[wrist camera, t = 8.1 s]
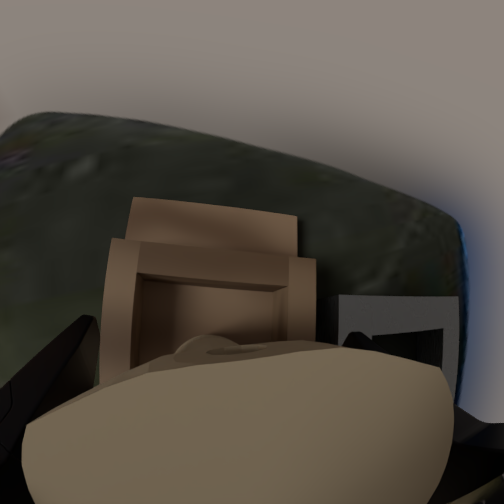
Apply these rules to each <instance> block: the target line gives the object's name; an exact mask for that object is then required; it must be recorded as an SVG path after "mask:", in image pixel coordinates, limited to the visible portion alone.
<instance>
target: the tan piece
mask: <svg viewBox="0 0 504 504" xmlns="http://www.w3.org/2000/svg"><path fill="white" fill-rule="evenodd" d="M315 332H316V259H310V258H300V257H297V216H292V215H285V214H278V213H271V212H264V211H257V210H249V209H242V208H234V207H226V206H218V205H209V204H201V203H191V202H182V201H172V200H162V199H152V198H140V197H133V201H132V206H131V210H130V215H129V220H128V225H127V231H126V236H125V239H117V238H112V241H111V246H110V252H109V258H108V265H107V272H106V280H105V288H104V297H103V307H102V320H101V336H100V384H102V383H104V382H106V381H108V380H110V379H112V378H114V377H116V376H118V375H120V374H122V373H124V372H126V371H129V370H131V369H133V368H136V367H138V366H140V365H143V364H145V363H147V362H150V361H152V360H154V359H156V358H159V357H161V356H164V355H170V354H174V353H175V352H176V351H177V349H178V348H179V347H180V346H181V345H182V344H184V343H185V342H187V341H188V340H190V339H192V338H194V337H197V336H201V335H215V336H221V337H224V338H227V339H229V340H231V341H233V342H235V343H237V344H238V345H248V344H258V343H268V342H278V341H296V340H304V341H312V342H315Z"/></svg>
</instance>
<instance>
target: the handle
mask: <svg viewBox="0 0 504 504" xmlns="http://www.w3.org/2000/svg"><path fill="white" fill-rule="evenodd" d="M453 428H454V410H453V398H452V395H451V392H450V389H449V386H448V383H447V381H446V379H445V377H444V375H443V373H442V371H441V369H440V368H439V367H436V366H432V365H428V364H424V363H420V362H416V361H413V360H409V359H405V358H401V357H397V356H392V355H388V354H384V353H380V352H376V351H369V350H362V349H354V348H348V347H343V346H338V345H332V344H327V343H321V342H312V341H304V340H296V341H278V342H268V343H258V344H248V345H238V344H237V343H235V342H233V341H231V340H229V339H227V338H224V337H221V336H215V335H201V336H197V337H194V338H192V339H190V340H188V341H187V342H185V343H184V344H182V345H181V346H180V347H179V348H178V349H177V351H176V352H175V353H174V354H170V355H164V356H161V357H159V358H156V359H154V360H152V361H150V362H147V363H145V364H143V365H140V366H138V367H136V368H133V369H131V370H129V371H126V372H124V373H122V374H120V375H118V376H116V377H114V378H112V379H110V380H108V381H106V382H104V383H102V384H100V385H98V386H96V387H94V388H92V389H90V390H88V391H86V392H84V393H82V394H80V395H78V396H76V397H75V398H73V399H71V400H69V401H67V402H65V403H63V404H61V405H59V406H57V407H55V408H54V409H52V410H50V411H49V412H47V413H45V414H44V415H42V416H40V417H39V418H37V419H35V420H34V421H32V422H31V423H29V424H27V426H26V430H25V434H24V438H23V443H22V468H23V472H24V476H25V479H26V483H27V486H28V489H29V492H30V494H31V496H32V498H33V500H34V502H35V504H427V503H428V501H429V500H430V498H431V496H432V495H433V493H434V491H435V490H436V488H437V486H438V484H439V482H440V479H441V477H442V475H443V472H444V470H445V467H446V464H447V461H448V457H449V453H450V449H451V444H452V438H453Z"/></svg>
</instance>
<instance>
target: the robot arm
mask: <svg viewBox="0 0 504 504" xmlns="http://www.w3.org/2000/svg"><path fill="white" fill-rule="evenodd" d="M99 345H100V333H99V329H98V325H97V320H96V318H95V317H94V316H90V315H82V316H80V317H79V318H78V319H77V320H76V321H74V322H73V323H72V324H71V325H70V326H69V327H67V328H66V329H65V330H64V331H63V332H62V333H60V334H59V335H58V336H57V337H56V338H55V339H54V340H52V341H51V342H50V343H49V344H48V345H47V346H46V347H45V348H43V349H42V350H41V351H40V352H39V353H38V354H37V355H36V356H35V357H33V358H32V359H31V360H30V361H29V362H28V363H27V364H26V365H25V366H24V367H23V368H22V369H20V370H19V371H18V372H17V373H16V374H15V375H14V376H13V377H12V378H11V379H10V381H8V382H7V383H6V384H5V385H4V386H3V387H2V388H1V389H0V504H35V502H34V500H33V498H32V496H31V494H30V492H29V489H28V486H27V483H26V479H25V476H24V472H23V468H22V443H23V438H24V434H25V430H26V426H27V424H29V423H31V422H32V421H34V420H35V419H37V418H39V417H40V416H42V415H44V414H45V413H47V412H49V411H50V410H52V409H54V408H55V407H57V406H59V405H61V404H63V403H65V402H67V401H69V400H71V399H73V398H75V397H76V396H78V395H80V394H82V393H84V392H86V391H88V390H90V389H92V388H93V384H94V378H95V371H96V364H97V357H98V351H99ZM342 346H343V347H348V348H354V349H362V350H369V351H376V352H380V353H384V354H388V355H390V354H389V353H388V352H387V351H385V350H384V349H383V348H381V347H380V346H379V345H378V344H376V343H375V342H374V341H372V340H371V339H370V338H369V337H367V336H366V335H365V334H364V333H362V332H360V331H356V332H350V333H349V334H348V335H347V337H346V339H345V341H344V342H343V344H342ZM453 410H454V428H453V438H452V444H451V449H450V453H449V457H448V461H447V464H446V467H445V470H444V472H443V475H442V477H441V479H440V482H439V484H438V486H437V488H436V490H435V491H434V493H433V495H432V496H431V498H430V500H429V501H428V503H427V504H504V423H485V422H482V421H479V420H478V419H476V418H475V417H473V416H472V415H470V414H469V413H467V412H466V411H464V410H463V409H461V408H459V407H458V406H457V405H455V404H454V403H453Z"/></svg>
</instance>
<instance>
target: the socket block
mask: <svg viewBox="0 0 504 504" xmlns="http://www.w3.org/2000/svg"><path fill="white" fill-rule="evenodd" d="M356 331H360V332H362V333H364V334H365V335H366V336H367V337H369V338H370V339H371V340H372V335H384V334H396V333H406V332H416V331H417V342H416V362H420V363H424V364H428V365H432V366H436V367H439V368H440V369H441V371H442V373H443V375H444V377H445V379H446V381H447V383H448V386H449V389H450V392H451V395H452V398H453V403H454V396H455V389H456V379H457V368H458V353H459V301H458V297H410V296H364V295H335V296H331V297H327V298H322V299H318V300H316V332H315V342H321V343H327V344H332V345H338V346H342V344H343V342H344V341H345V339H346V337H347V335H348V334H349V333H350V332H356Z"/></svg>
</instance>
